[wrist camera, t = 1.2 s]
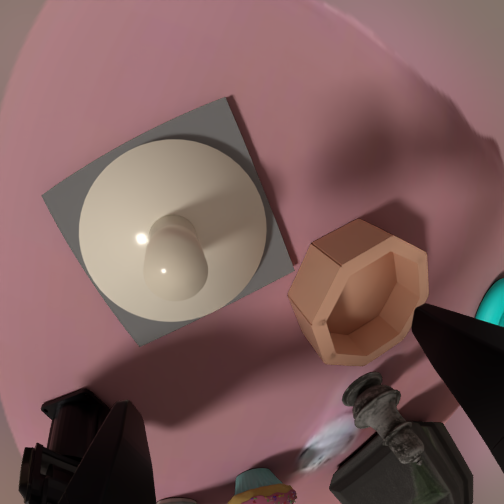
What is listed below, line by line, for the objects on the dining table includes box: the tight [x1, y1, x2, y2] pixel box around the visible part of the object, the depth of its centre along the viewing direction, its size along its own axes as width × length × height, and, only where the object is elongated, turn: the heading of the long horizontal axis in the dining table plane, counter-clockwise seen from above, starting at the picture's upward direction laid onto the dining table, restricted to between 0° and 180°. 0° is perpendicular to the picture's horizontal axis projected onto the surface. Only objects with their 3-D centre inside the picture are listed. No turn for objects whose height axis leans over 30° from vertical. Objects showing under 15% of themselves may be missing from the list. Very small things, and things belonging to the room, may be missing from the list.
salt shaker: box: [342, 372, 424, 465], centre depth 24 cm, size 6×6×12 cm
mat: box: [41, 97, 295, 347], centre depth 18 cm, size 12×12×1 cm
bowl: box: [287, 219, 429, 366], centre depth 21 cm, size 10×10×4 cm
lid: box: [79, 139, 267, 322], centre depth 15 cm, size 11×11×5 cm
